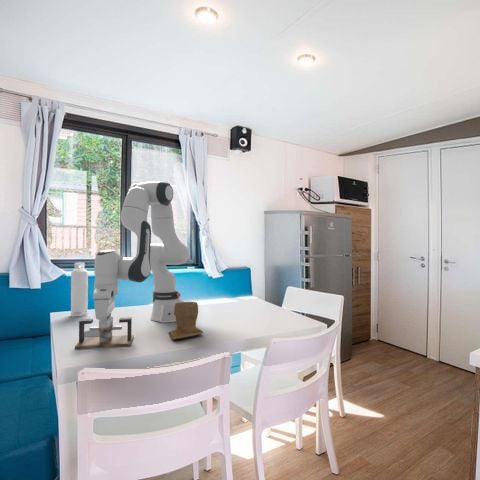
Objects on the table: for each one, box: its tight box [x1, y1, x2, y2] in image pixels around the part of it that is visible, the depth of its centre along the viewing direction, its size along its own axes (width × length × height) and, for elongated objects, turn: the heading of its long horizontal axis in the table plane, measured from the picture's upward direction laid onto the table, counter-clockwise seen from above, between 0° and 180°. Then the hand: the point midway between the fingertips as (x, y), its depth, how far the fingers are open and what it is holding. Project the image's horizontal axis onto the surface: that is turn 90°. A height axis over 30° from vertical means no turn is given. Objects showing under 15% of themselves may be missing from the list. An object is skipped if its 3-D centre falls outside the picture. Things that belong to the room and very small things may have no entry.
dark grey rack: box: [74, 316, 134, 350], centre depth 131 cm, size 20×11×10 cm, turn 102°
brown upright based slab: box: [168, 301, 204, 341], centre depth 141 cm, size 15×12×15 cm
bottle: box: [70, 261, 89, 317], centre depth 176 cm, size 8×8×28 cm
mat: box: [84, 330, 100, 337], centre depth 142 cm, size 9×9×1 cm
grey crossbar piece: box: [88, 316, 123, 332], centre depth 131 cm, size 12×5×5 cm, turn 102°
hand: (106, 325), depth 131 cm, fingers closed on grey crossbar piece, 5 cm apart
